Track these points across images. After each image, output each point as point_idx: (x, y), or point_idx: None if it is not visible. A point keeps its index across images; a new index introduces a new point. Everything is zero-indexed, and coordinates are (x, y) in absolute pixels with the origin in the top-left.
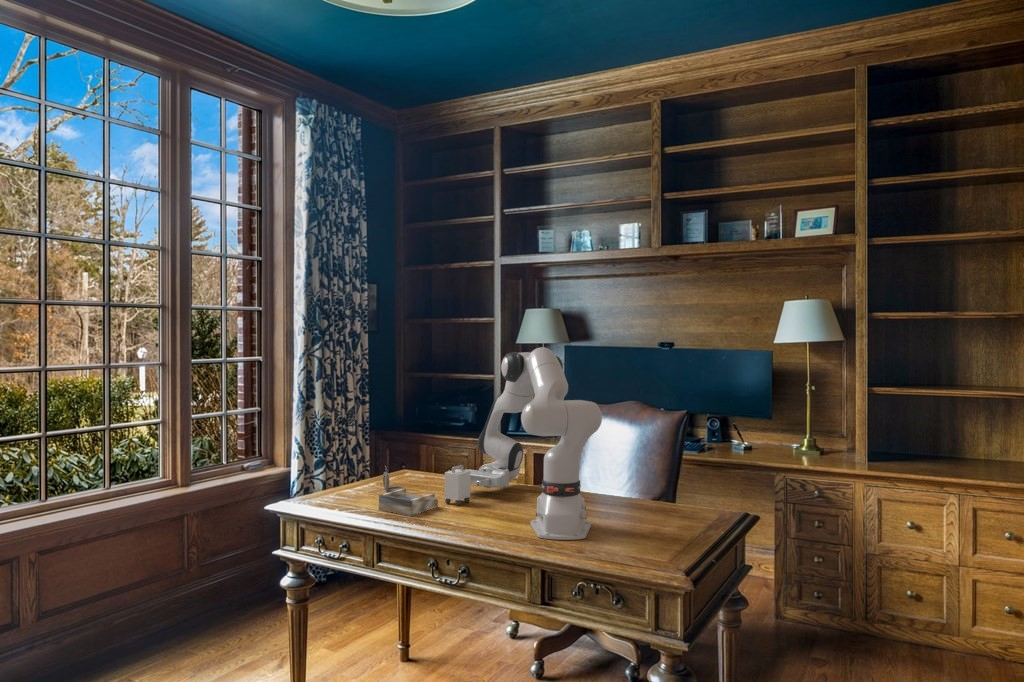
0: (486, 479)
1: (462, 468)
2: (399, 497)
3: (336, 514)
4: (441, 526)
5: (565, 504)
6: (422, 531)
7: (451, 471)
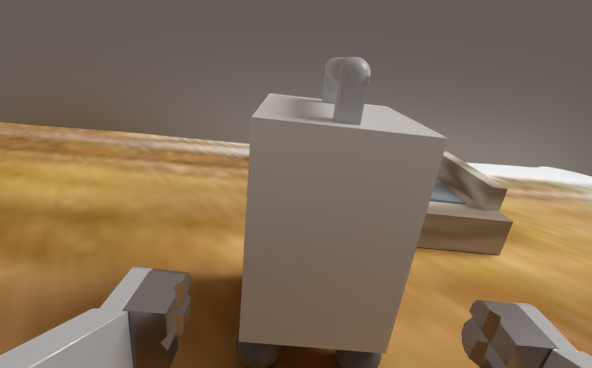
0: (22, 361)
1: (336, 94)
2: (439, 183)
3: None
4: (195, 156)
5: None
6: (219, 143)
7: (379, 112)
